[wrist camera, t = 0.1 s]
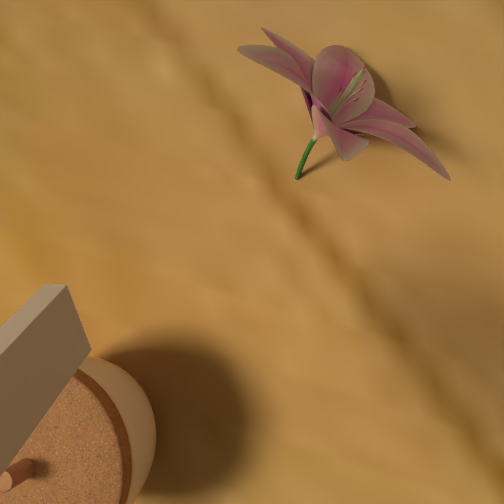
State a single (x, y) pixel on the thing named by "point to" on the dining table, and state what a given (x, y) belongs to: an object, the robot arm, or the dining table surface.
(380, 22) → the dining table surface
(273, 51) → the lily
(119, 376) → the lidded jar
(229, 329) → the dining table surface
